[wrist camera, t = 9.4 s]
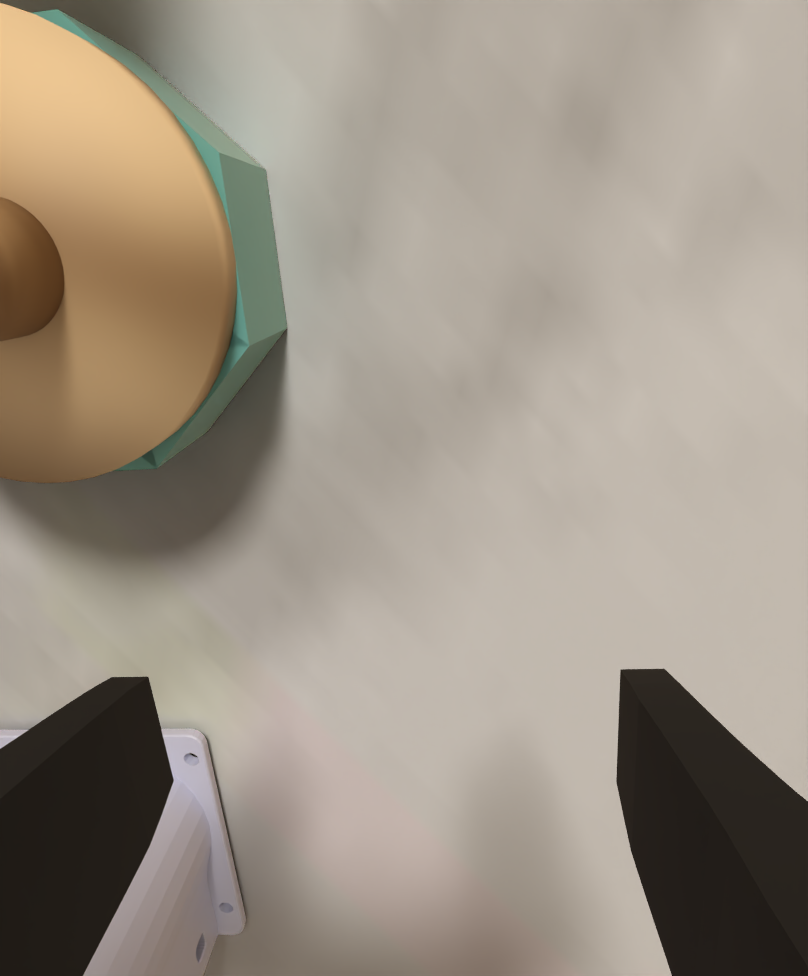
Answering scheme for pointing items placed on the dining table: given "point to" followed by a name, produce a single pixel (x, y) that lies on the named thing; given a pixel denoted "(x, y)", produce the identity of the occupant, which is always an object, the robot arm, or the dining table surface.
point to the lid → (100, 260)
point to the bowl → (251, 238)
